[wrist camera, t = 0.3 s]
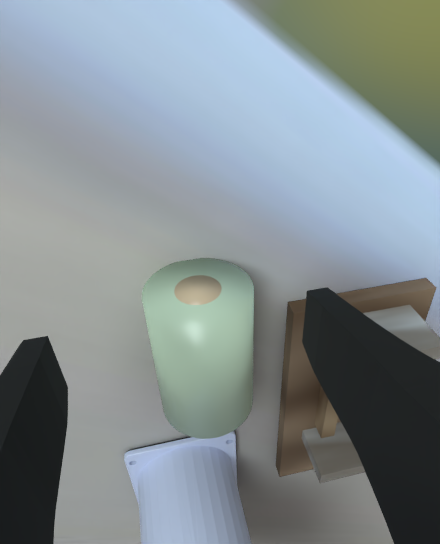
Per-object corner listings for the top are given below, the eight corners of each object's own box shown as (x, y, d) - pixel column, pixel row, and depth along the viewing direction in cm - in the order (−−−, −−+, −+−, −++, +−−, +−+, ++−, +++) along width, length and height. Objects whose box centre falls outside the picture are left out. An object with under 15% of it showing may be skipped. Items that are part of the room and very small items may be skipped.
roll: (240, 356, 27) (264, 427, 23) (158, 372, 26) (167, 448, 22) (238, 251, 22) (268, 316, 18) (138, 266, 21) (145, 338, 17)
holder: (374, 442, 37) (403, 493, 33) (275, 465, 35) (294, 521, 32) (426, 277, 26) (476, 327, 22) (287, 302, 25) (318, 358, 21)
